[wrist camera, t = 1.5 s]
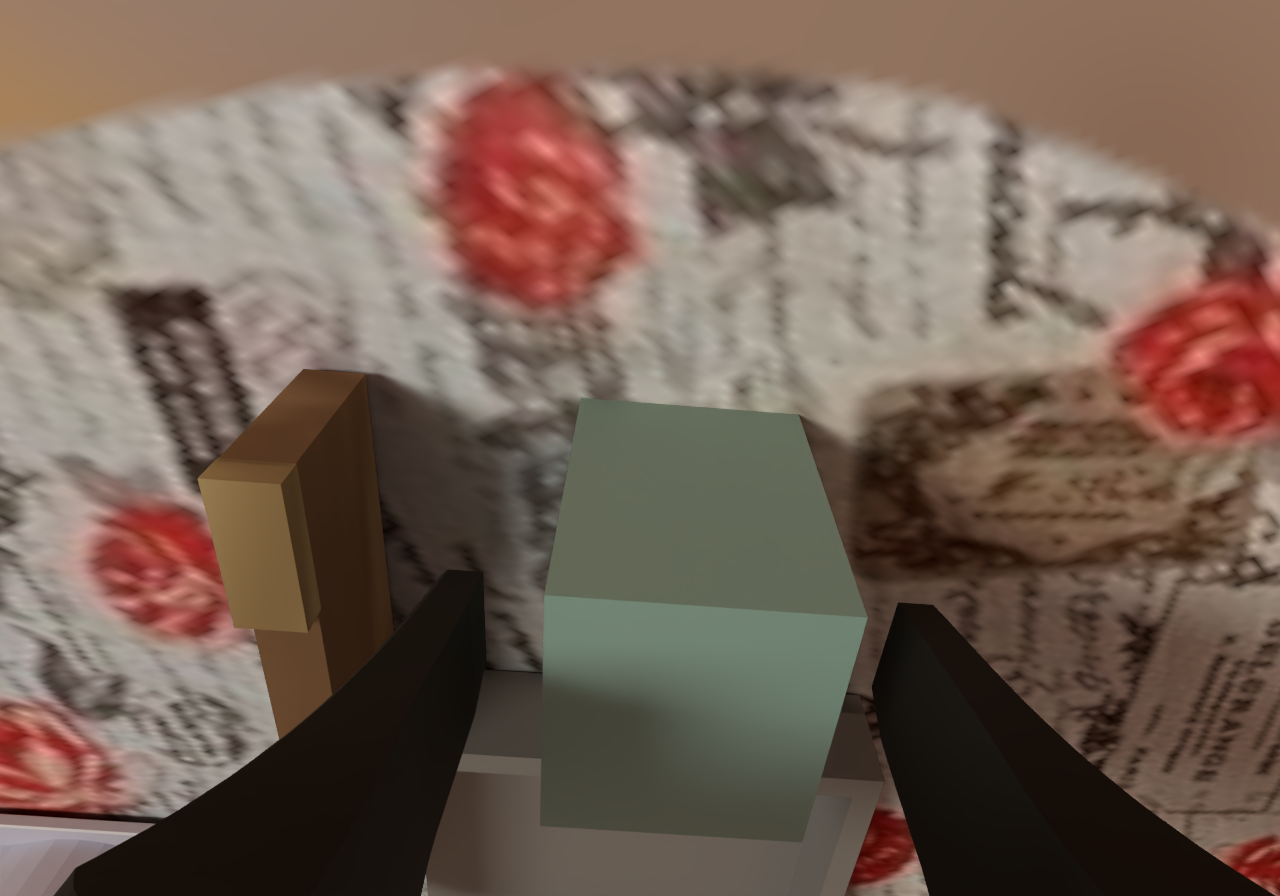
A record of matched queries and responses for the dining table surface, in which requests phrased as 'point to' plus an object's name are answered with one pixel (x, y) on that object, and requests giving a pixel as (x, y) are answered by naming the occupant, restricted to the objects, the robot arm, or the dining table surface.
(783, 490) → the block
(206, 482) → the long wooden plank
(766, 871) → the grey open tray
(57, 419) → the dining table surface
